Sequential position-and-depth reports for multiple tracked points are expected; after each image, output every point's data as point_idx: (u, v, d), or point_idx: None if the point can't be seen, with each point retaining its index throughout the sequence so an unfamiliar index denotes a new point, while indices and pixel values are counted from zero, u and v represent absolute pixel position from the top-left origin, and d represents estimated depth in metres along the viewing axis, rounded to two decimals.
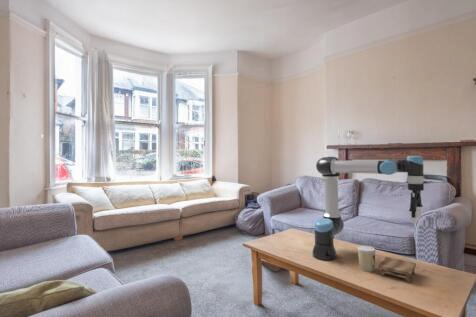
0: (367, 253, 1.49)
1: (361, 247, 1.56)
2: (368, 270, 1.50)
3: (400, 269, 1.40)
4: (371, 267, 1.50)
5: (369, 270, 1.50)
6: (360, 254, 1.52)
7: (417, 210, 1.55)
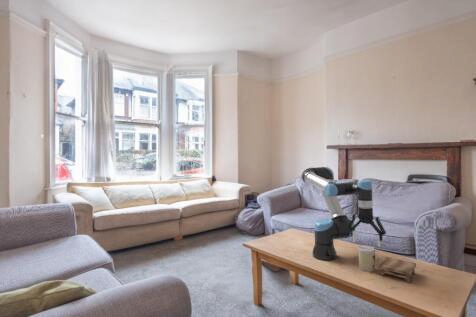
0: (367, 253, 1.49)
1: (361, 247, 1.56)
2: (368, 270, 1.50)
3: (400, 269, 1.40)
4: (371, 267, 1.50)
5: (369, 270, 1.50)
6: (360, 254, 1.52)
7: None
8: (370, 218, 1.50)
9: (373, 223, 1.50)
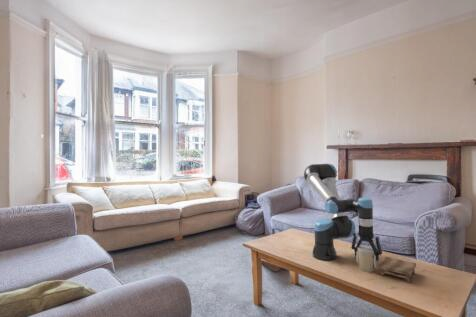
0: (367, 253, 1.49)
1: (361, 247, 1.56)
2: (368, 270, 1.50)
3: (400, 269, 1.40)
4: (371, 267, 1.50)
5: (369, 270, 1.50)
6: (360, 254, 1.52)
7: None
8: (370, 236, 1.51)
9: (372, 242, 1.51)
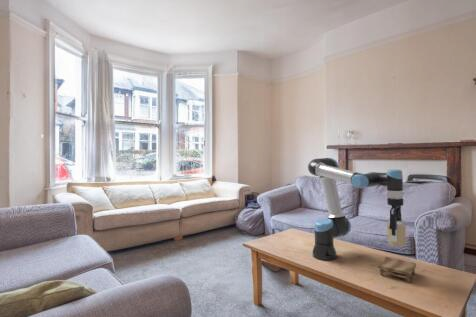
0: None
1: None
2: None
3: (400, 269, 1.40)
4: None
5: None
6: (403, 229, 1.41)
7: None
8: (399, 207, 1.46)
9: None
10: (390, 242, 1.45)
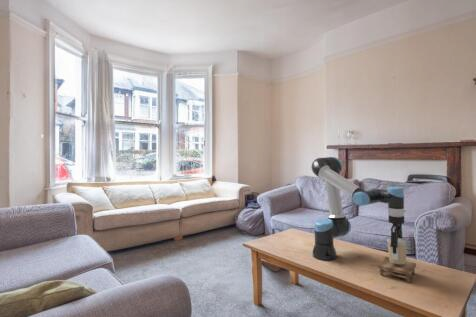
0: None
1: None
2: None
3: (400, 269, 1.40)
4: None
5: None
6: (404, 247, 1.41)
7: None
8: (399, 225, 1.47)
9: None
10: (391, 260, 1.45)
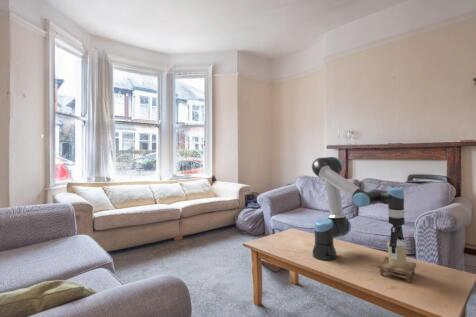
0: None
1: None
2: None
3: (400, 269, 1.40)
4: None
5: None
6: (404, 250, 1.41)
7: None
8: (400, 226, 1.47)
9: None
10: (391, 262, 1.45)
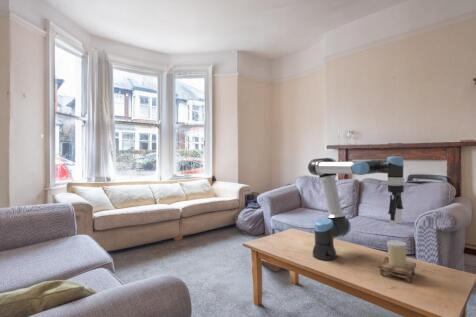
0: None
1: (395, 244, 1.44)
2: None
3: (400, 269, 1.40)
4: None
5: None
6: (404, 250, 1.41)
7: (398, 212, 1.50)
8: (399, 194, 1.46)
9: None
10: (391, 262, 1.45)
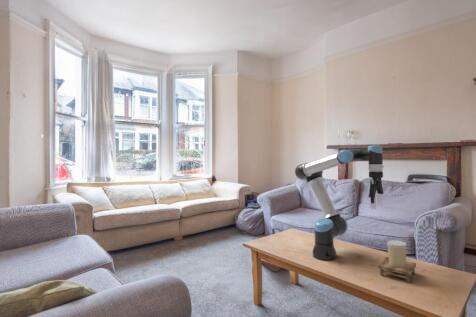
0: None
1: (395, 244, 1.44)
2: None
3: (400, 269, 1.40)
4: None
5: None
6: (404, 250, 1.41)
7: (378, 197, 1.64)
8: (379, 180, 1.60)
9: None
10: (391, 262, 1.45)
